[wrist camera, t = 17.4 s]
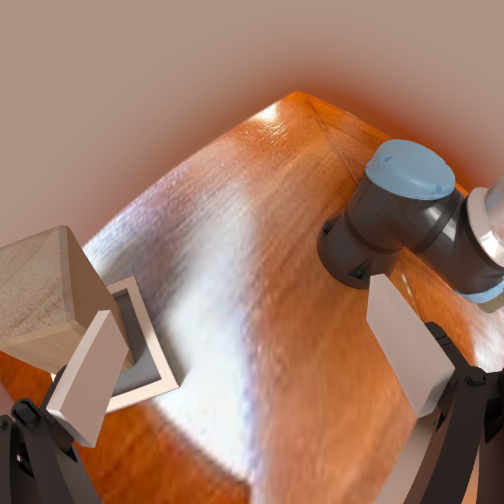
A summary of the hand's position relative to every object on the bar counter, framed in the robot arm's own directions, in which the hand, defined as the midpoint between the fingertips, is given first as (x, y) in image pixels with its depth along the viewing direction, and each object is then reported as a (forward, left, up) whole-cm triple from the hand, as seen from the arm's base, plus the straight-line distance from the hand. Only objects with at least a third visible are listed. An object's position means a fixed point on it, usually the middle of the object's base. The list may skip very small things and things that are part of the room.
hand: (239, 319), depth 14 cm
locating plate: (+14, -10, -27) cm, 32 cm away
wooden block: (+14, -11, -26) cm, 32 cm away
